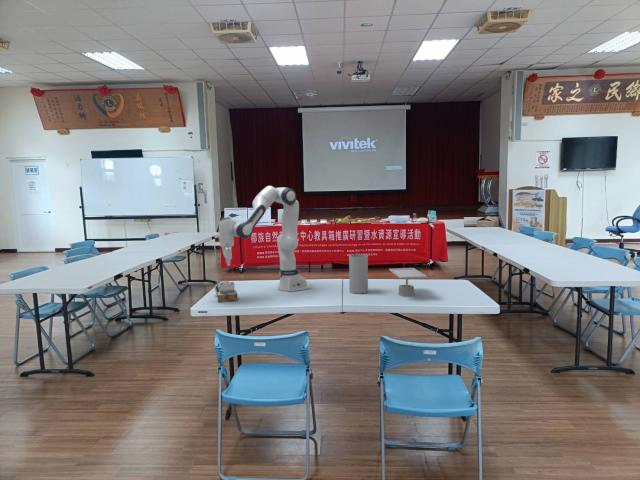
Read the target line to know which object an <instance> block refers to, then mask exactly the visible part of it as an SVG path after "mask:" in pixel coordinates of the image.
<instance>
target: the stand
mask: <svg viewBox="0 0 640 480" xmlns="http://www.w3.org/2000/svg"><path fill="white" fill-rule="evenodd" d="M216 297H217V302H218V303H227V302H238V301H239V300H238V299H239V298H238V292H237V290H236V289H235V293H227V294H220V292H217V295H216Z"/></svg>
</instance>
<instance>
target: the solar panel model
mask: <svg viewBox="0 0 640 480" xmlns="http://www.w3.org/2000/svg"><path fill="white" fill-rule="evenodd" d="M388 271H390V272H391V273H392V274H393V275H395V276H396V277H397V278H399V279H400V280H401V279H403V280H404V279H405V284H399V285H398V295H399V296H401V297H405V298H410V297H413V296H414V295H415V292H414V291H415V286H414V285H411V284H409V279H423V278H424V279H426V278H428V276H427V275H426V274H424V273H422V272H421V271H420V270H417V269H416V268H414V267H403V268H402V267H401V268H399V267H398V268H388Z"/></svg>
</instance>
